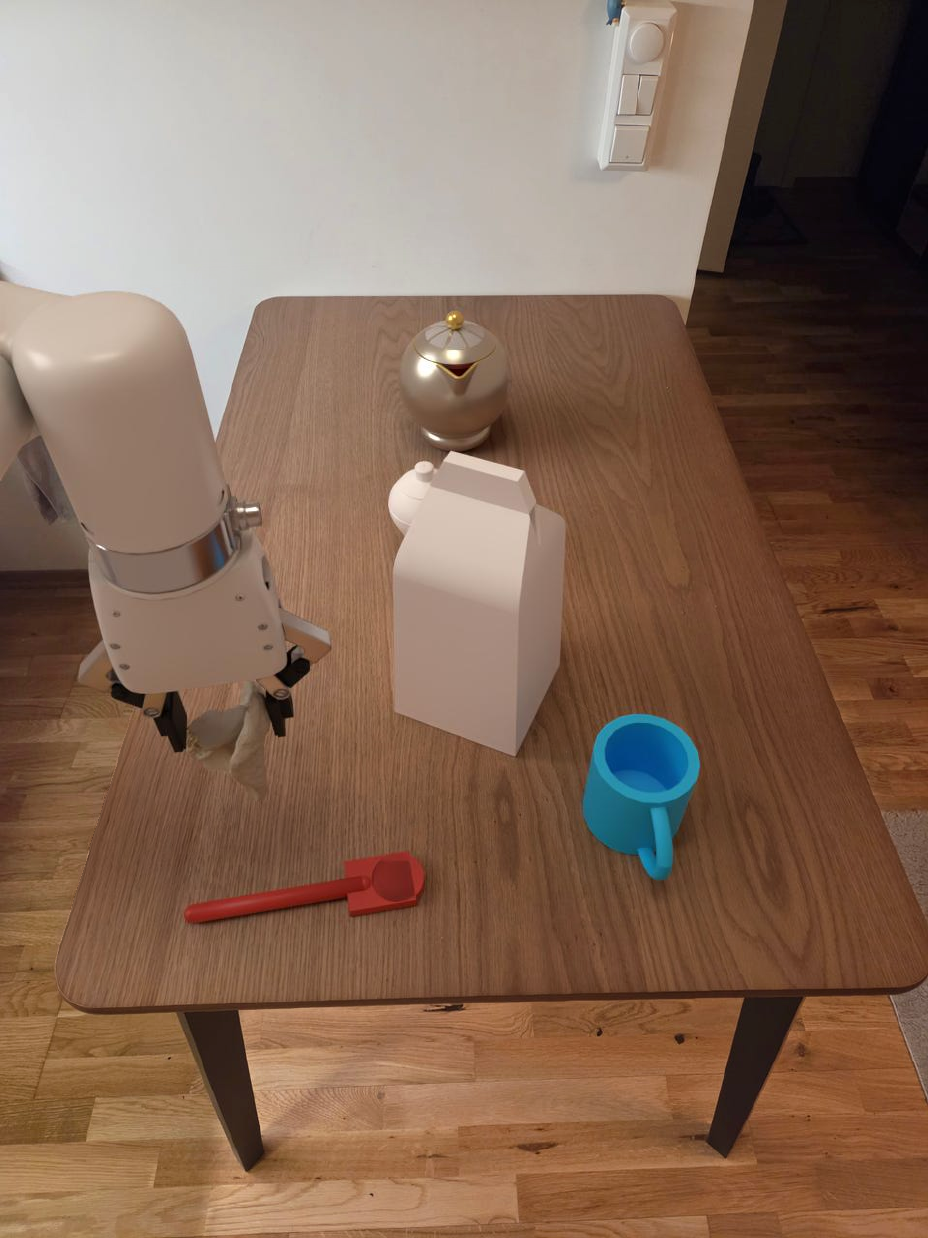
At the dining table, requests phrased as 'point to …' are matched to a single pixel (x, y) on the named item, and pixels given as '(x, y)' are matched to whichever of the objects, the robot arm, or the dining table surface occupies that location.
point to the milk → (478, 604)
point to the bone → (234, 740)
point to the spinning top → (410, 494)
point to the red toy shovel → (333, 890)
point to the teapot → (455, 382)
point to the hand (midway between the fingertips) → (230, 726)
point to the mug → (640, 788)
